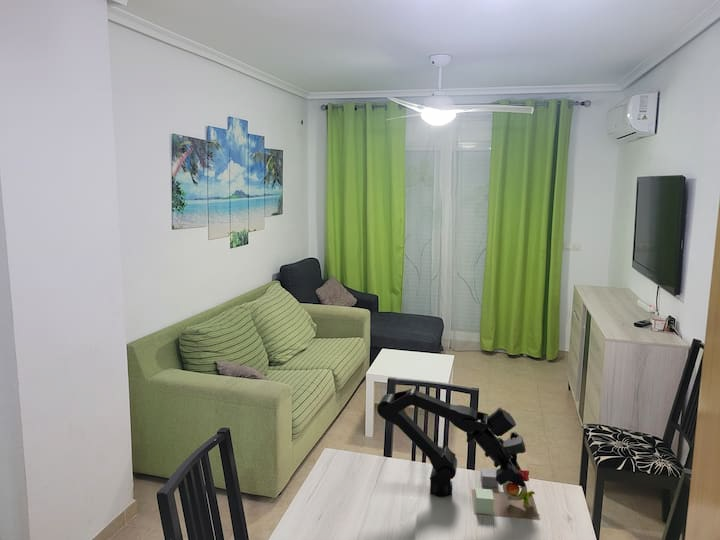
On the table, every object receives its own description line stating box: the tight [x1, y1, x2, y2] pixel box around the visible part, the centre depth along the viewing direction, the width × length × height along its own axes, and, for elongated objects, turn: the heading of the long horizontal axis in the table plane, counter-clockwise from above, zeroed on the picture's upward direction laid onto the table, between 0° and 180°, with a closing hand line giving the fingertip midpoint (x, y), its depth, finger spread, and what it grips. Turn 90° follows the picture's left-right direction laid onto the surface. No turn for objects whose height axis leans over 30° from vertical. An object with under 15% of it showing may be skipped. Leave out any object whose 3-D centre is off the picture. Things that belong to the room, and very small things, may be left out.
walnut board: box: [471, 488, 541, 521], centre depth 168 cm, size 19×13×2 cm
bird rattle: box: [502, 469, 536, 506], centre depth 167 cm, size 6×11×9 cm
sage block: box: [475, 487, 494, 515], centre depth 165 cm, size 5×5×5 cm
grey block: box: [480, 467, 499, 488], centre depth 180 cm, size 5×5×5 cm
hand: (524, 482), depth 166 cm, fingers closed on bird rattle, 4 cm apart
